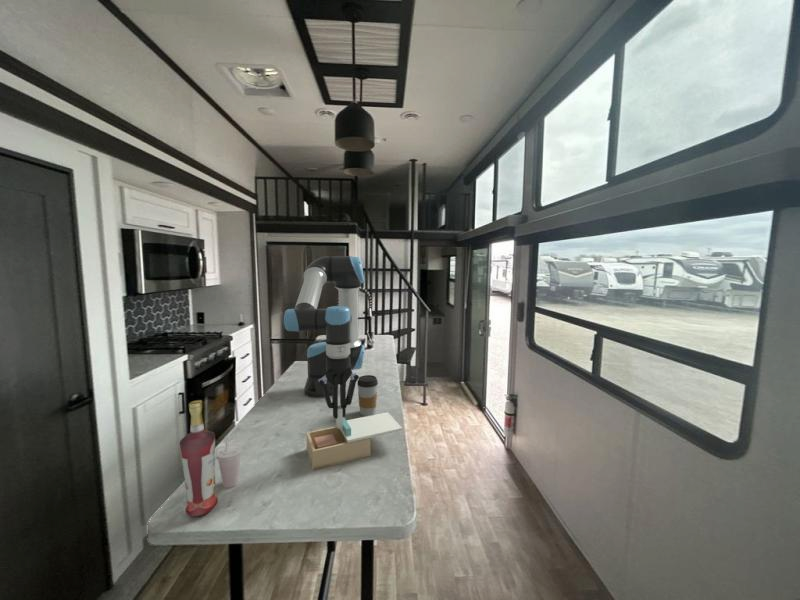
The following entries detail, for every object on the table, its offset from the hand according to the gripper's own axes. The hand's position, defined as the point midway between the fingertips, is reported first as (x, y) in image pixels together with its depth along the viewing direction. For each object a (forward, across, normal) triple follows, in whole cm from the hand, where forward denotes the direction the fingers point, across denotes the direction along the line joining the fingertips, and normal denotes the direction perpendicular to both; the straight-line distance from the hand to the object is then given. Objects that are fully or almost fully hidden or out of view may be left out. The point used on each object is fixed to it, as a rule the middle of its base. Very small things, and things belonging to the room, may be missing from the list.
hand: (339, 426), depth 106 cm
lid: (+3, +10, 0) cm, 11 cm away
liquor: (+9, -38, -10) cm, 40 cm away
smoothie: (+9, -32, -2) cm, 33 cm away
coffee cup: (+9, +18, +22) cm, 30 cm away
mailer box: (+9, 0, 0) cm, 9 cm away
